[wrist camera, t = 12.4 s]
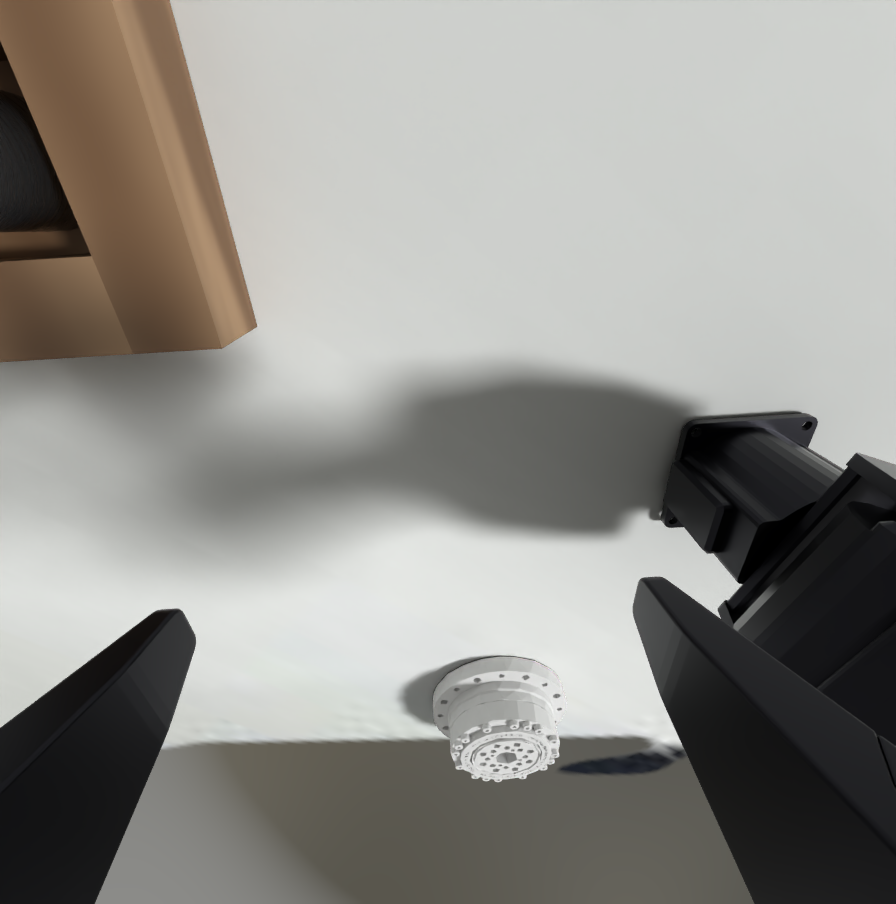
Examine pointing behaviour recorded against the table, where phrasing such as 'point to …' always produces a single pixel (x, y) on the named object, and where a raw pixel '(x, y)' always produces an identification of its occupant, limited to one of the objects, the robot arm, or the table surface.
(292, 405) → the table surface
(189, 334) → the walnut bore block
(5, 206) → the steel pin
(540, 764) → the mechanical component
